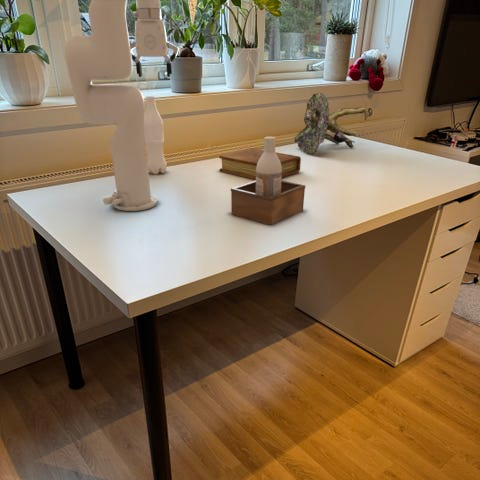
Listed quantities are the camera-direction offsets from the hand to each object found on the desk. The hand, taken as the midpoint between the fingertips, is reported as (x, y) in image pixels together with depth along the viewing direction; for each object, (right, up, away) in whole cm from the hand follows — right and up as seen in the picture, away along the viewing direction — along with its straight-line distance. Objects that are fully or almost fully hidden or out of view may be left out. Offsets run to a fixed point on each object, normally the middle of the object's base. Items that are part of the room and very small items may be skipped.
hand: (154, 76), depth 153 cm
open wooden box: (+37, -52, -26) cm, 69 cm away
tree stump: (+66, -6, +48) cm, 82 cm away
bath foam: (+37, -53, -26) cm, 69 cm away
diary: (+36, -29, +13) cm, 48 cm away
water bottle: (-1, -29, +12) cm, 31 cm away
